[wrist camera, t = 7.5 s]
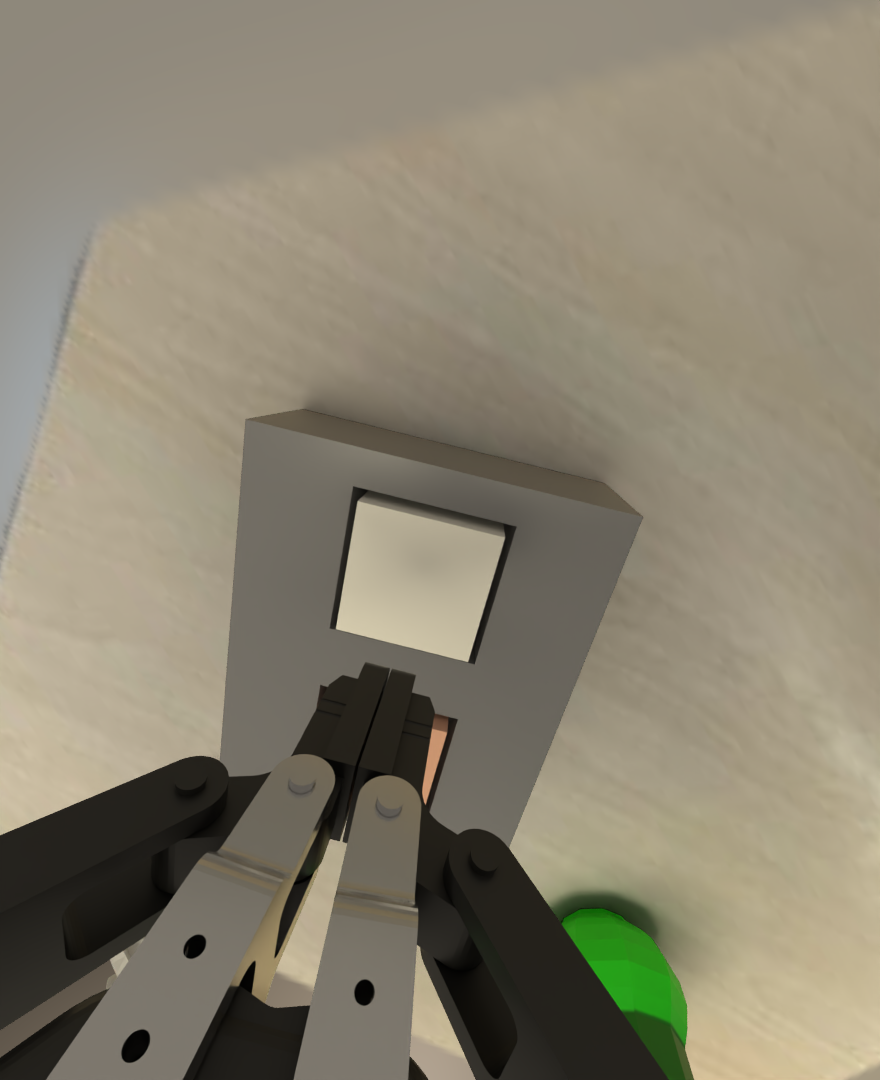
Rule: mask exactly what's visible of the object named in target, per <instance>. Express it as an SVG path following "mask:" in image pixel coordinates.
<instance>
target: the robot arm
mask: <svg viewBox="0 0 880 1080" xmlns="http://www.w3.org/2000/svg"><path fill="white" fill-rule="evenodd" d="M389 672H390V668H389V667H385V666H381V665H377V664H373V663H369V662H365V664H364V666H363V668H362V670H361V672H360V675H359V677H358V679H356V678H353V677H349V676H345V675H342V676H340V677H339V678H337V679H336V680H335V681H333V682H332V683H331V684H329V686H328V688H327V690H326V691H325V693H324V695H323V697H322V700H321V701H320V703H319V705H318V707H317V708H316V711H315V712H314V714H313V716H312V718H311V720H310V722H309V724H308V725H307V727H306V729H305V731H304V733H303V735H302V737H301V739H300V741H299V742H298V744H297V746H296V748H295V750H294V752H293V754H292V755H291V757H288V758H286V759H284V760H283V761H281V762H280V763H279V764H278V765H276V767H275V768H274V769H273V770H272V771H271V772H268V773H265V774H261V775H254V776H231V777H229V774H228V771H227V769H226V767H225V766H224V764H223V763H221V762H220V761H218V760H217V759H214V758H211V757H206V756H194V757H189V758H185V759H182V760H179V761H176V762H174V763H172V764H169V765H167V766H165V767H162V768H160V769H157V770H155V771H153V772H150V773H148V774H146V775H143V776H141V777H138V778H136V779H134V780H131V781H129V782H126V783H124V784H122V785H119V786H117V787H115V788H112V789H110V790H107V791H105V792H103V793H100V794H98V795H95V796H93V797H91V798H88V799H86V800H84V801H81V802H79V803H76V804H74V805H72V806H69V807H67V808H64V809H62V810H60V811H57V812H55V813H53V814H50V815H48V816H45V817H43V818H41V819H38V820H36V821H33V822H31V823H29V824H26V825H24V826H22V827H19V828H17V829H14V830H12V831H10V832H7V833H5V834H2V835H0V1030H1V1029H3V1028H4V1027H6V1026H7V1025H9V1024H11V1023H12V1022H14V1021H15V1020H17V1019H18V1018H20V1017H21V1016H23V1015H24V1014H26V1013H28V1012H29V1011H31V1010H32V1009H34V1008H35V1007H37V1006H38V1005H40V1004H42V1003H43V1002H45V1001H46V1000H48V999H49V998H51V997H52V996H54V995H55V994H57V993H59V992H60V991H62V990H63V989H65V988H66V987H68V986H69V985H71V984H72V983H74V982H76V981H77V980H79V979H80V978H82V977H83V976H85V975H87V974H88V973H90V972H91V971H93V970H94V969H96V968H97V967H99V966H100V965H102V964H104V963H105V962H107V961H108V960H110V959H111V958H113V957H115V956H116V955H118V954H119V953H121V952H122V951H124V950H125V949H127V948H128V947H130V946H132V945H133V944H135V943H136V942H138V941H139V940H141V939H142V938H144V937H145V938H144V939H143V941H142V942H141V944H140V945H139V947H138V948H137V950H136V951H135V952H134V954H133V955H132V957H131V958H130V960H129V961H128V962H127V964H126V965H125V967H124V968H123V970H122V971H121V973H120V974H119V975H118V977H117V978H116V980H115V981H114V983H113V984H112V986H111V987H110V988H109V989H106V990H104V991H102V992H100V993H98V994H96V995H93V996H92V997H89V998H88V999H86V1000H84V1001H83V1002H81V1003H79V1004H77V1005H75V1006H74V1007H72V1008H71V1009H69V1010H68V1011H66V1012H64V1013H63V1014H62V1015H60V1016H58V1017H57V1018H56V1019H54V1020H53V1021H51V1022H50V1023H49V1024H47V1025H46V1026H44V1027H43V1028H42V1029H40V1030H39V1031H37V1032H36V1033H34V1034H33V1035H32V1036H30V1037H29V1038H27V1039H26V1040H25V1041H23V1042H22V1043H20V1044H19V1045H18V1046H16V1047H15V1048H13V1049H12V1050H11V1051H9V1052H8V1053H6V1054H5V1055H4V1056H2V1057H1V1058H0V1080H428V1078H427V1077H426V1075H425V1074H424V1073H423V1071H422V1070H421V1069H420V1068H419V1066H418V1065H417V1064H416V1063H415V1061H414V1060H413V1059H412V1058H411V1057H410V1041H411V1026H412V1010H413V995H414V980H415V964H416V949H417V945H418V946H420V950H421V956H422V959H423V962H424V965H425V967H426V969H427V971H428V974H429V976H430V978H431V980H432V983H433V985H434V987H435V989H436V992H437V994H438V996H439V998H440V1001H441V1003H442V1005H443V1007H444V1009H445V1012H446V1014H447V1016H448V1018H449V1021H450V1023H451V1025H452V1027H453V1030H454V1032H455V1034H456V1036H457V1039H458V1041H459V1043H460V1045H461V1048H462V1050H463V1052H464V1054H465V1057H466V1059H467V1061H468V1063H469V1066H470V1068H471V1070H472V1072H473V1074H474V1077H475V1079H476V1080H669V1079H668V1077H667V1076H666V1075H665V1073H664V1072H663V1070H662V1069H661V1067H660V1066H659V1064H658V1063H657V1062H656V1060H655V1059H654V1057H653V1056H652V1054H651V1053H650V1051H649V1050H648V1049H647V1047H646V1046H645V1044H644V1043H643V1041H642V1040H641V1038H640V1037H639V1036H638V1034H637V1033H636V1031H635V1030H634V1028H633V1027H632V1025H631V1024H630V1023H629V1021H628V1020H627V1018H626V1017H625V1015H624V1014H623V1012H622V1011H621V1010H620V1008H619V1007H618V1005H617V1004H616V1002H615V1001H614V999H613V998H612V997H611V995H610V994H609V992H608V991H607V989H606V988H605V986H604V985H603V984H602V982H601V981H600V979H599V978H598V976H597V975H596V973H595V972H594V971H593V969H592V968H591V966H590V965H589V963H588V962H587V960H586V959H585V958H584V956H583V955H582V953H581V952H580V950H579V949H578V947H577V946H576V945H575V943H574V942H573V940H572V939H571V937H570V936H569V935H568V933H567V932H566V930H565V929H564V927H563V926H562V924H561V923H560V922H559V920H558V919H557V917H556V916H555V914H554V913H553V911H552V910H551V909H550V907H549V906H548V904H547V903H546V901H545V900H544V898H543V897H542V896H541V894H540V893H539V891H538V890H537V888H536V887H535V885H534V884H533V883H532V881H531V880H530V878H529V877H528V875H527V874H526V872H525V871H524V870H523V868H522V867H521V865H520V864H519V862H518V861H517V859H516V858H515V857H514V855H513V854H512V852H511V851H510V849H509V848H508V847H507V845H506V844H505V843H504V842H503V841H502V840H501V839H500V838H499V837H497V836H496V835H494V834H492V833H491V832H488V831H486V830H482V829H468V830H465V831H463V832H461V833H459V834H456V833H454V832H453V831H451V830H450V829H448V828H446V827H445V826H443V825H442V824H441V823H439V822H438V821H437V820H436V819H435V818H434V817H433V816H432V815H431V814H430V812H429V811H428V809H427V807H426V805H425V803H424V799H423V794H422V789H423V782H424V776H425V770H426V763H427V757H428V751H429V745H430V739H431V733H432V727H433V721H434V715H435V710H434V707H433V705H432V702H431V699H430V697H427V696H424V695H420V694H416V693H412V690H413V686H414V682H415V678H416V674H413V673H409V672H405V671H401V670H397V669H393V668H392V670H391V672H390V675H389ZM388 677H389V678H388ZM347 817H348V818H347ZM346 820H347V823H346ZM345 823H346V828H345V832H344V837H343V842H345V843H347V847H346V852H345V856H344V861H343V865H342V869H341V874H340V878H339V883H338V887H337V891H336V895H335V899H334V904H333V908H332V913H331V917H330V921H329V926H328V930H327V935H326V939H325V943H324V948H323V952H322V957H321V961H320V965H319V970H318V974H317V979H316V983H315V987H314V992H313V996H312V1001H311V1005H310V1006H297V1007H285V1008H273V1007H270V1006H268V1005H266V1004H265V1002H266V999H267V996H268V993H269V989H270V986H271V983H272V980H273V977H274V974H275V972H276V969H277V966H278V964H279V962H280V959H281V957H282V955H283V952H284V950H285V948H286V945H287V943H288V941H289V938H290V936H291V934H292V931H293V929H294V927H295V924H296V922H297V920H298V917H299V915H300V913H301V910H302V908H303V906H304V903H305V901H306V899H307V896H308V894H309V892H310V889H311V887H312V885H313V882H314V880H315V878H316V875H317V872H318V868H319V865H320V864H321V862H322V860H323V857H324V854H325V851H326V848H327V846H328V843H329V840H330V839H333V840H337V841H340V839H341V836H342V832H343V829H344V826H345Z"/></svg>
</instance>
